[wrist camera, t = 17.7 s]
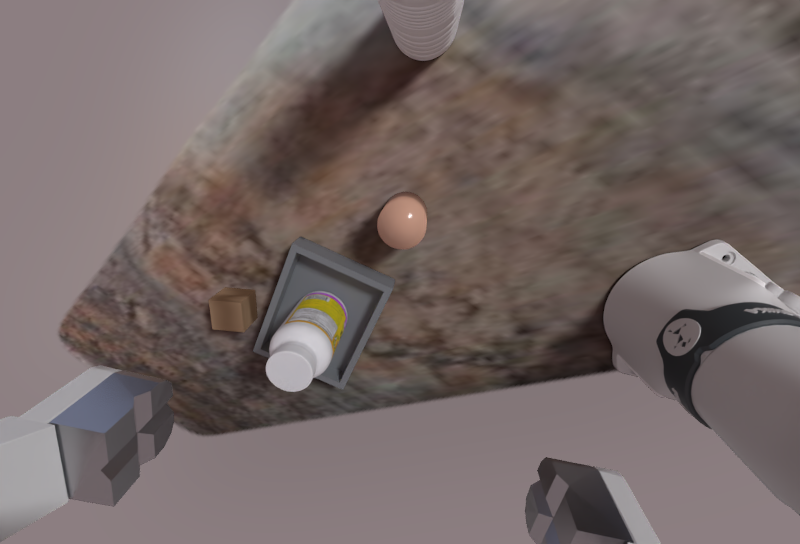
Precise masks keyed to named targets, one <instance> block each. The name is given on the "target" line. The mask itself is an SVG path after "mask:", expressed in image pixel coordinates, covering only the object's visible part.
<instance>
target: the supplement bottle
mask: <svg viewBox="0 0 800 544" xmlns="http://www.w3.org/2000/svg"><path fill="white" fill-rule="evenodd" d="M346 323H347V310H346V307H345V305H344V304H343V302H342V301H341V300H340V299H339V298H338V297H336V296H335V295H333V294H331V293H329V292H325V291H315V292H311V293H309V294H307V295H305V296H304V297H303V298H302V299H301V300H300V301H299V302H298V303H297V305H296V306H295V307H294V309H293V310H292V311H291V313H290V314H289V315H288V317H287V318H286V319H285V321H284V322H283V323H282V325H281V326H280V327H279V329H278V330H277V331H276V332H275V334H274V335H273V337H272V339H271V342H270V346H269V353H270V357H269V359H268V361H267V363H266V374H267V376H268V378H269V380H270V381H271V382H272V383H273V384H274V385H275V386H276V387H278V388H280V389H282V390H285V391H290V392H295V391H300V390H303V389H305V388H306V387H307V386H308V385H309V384H310V383H311V381H312V379H313V378H315V377H317V376H319V375H321V374H322V373H323V372H324V371H325V370H326V369H327V368H328V366H329V364H330V362H331V360H332V357H333V355H334V352H335V350H336V348H337V345H338V343H339V341H340V338H341V336H342V334H343V331H344V329H345V326H346Z"/></svg>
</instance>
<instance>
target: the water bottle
mask: <svg viewBox="0 0 800 544" xmlns="http://www.w3.org/2000/svg"><path fill="white" fill-rule="evenodd" d="M378 2H379V4H380V7H381V9H382V11H383V14H384V16H385V19H386V21H387V23H388V26H389V28H390V31H391V33H392V36H393V38H394V41H395V43H396V44H397V46H398V48H399V49H400V50H401V51H402V52H403V53H404V54H405V55H407V56H408V57H410V58H412V59H415V60H419V61H427V60H432V59H434V58H436V57H438V56H440V55H442V54H443V53H444V52H445V51H446V50H447V49H448V48H449V46H450V45H451V43H452V42H453V40H454V38H455V35H456V32H457V28H458V23H459V19H460V15H461V11H462V7H463V4H464V0H378Z"/></svg>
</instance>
